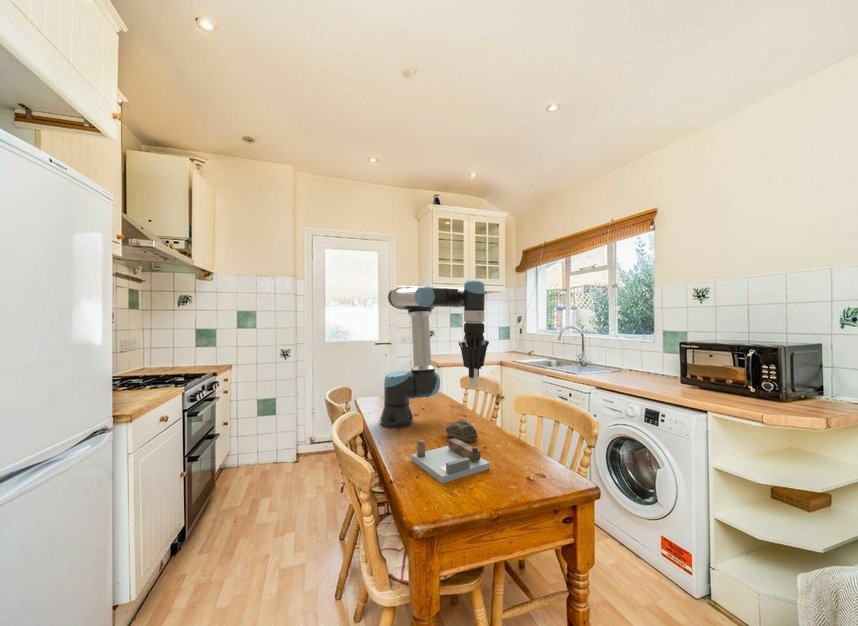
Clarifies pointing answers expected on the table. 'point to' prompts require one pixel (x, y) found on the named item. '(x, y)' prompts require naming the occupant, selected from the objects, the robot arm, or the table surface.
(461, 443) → the leg
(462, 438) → the stone
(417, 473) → the table surface
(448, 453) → the board
